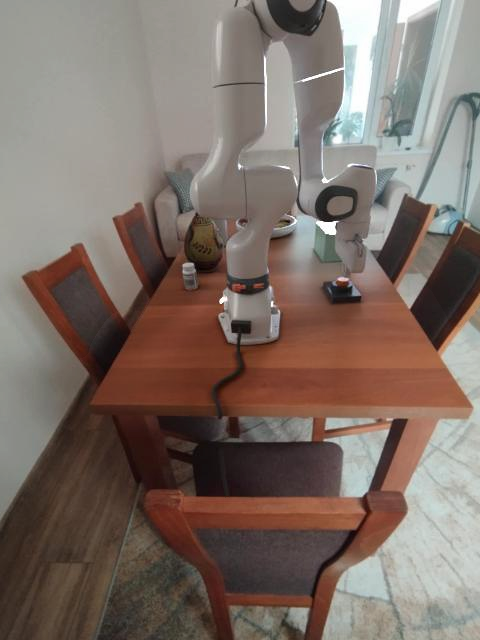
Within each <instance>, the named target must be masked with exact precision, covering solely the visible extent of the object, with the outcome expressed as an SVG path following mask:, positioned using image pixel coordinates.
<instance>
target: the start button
mask: <svg viewBox="0 0 480 640" xmlns="http://www.w3.org/2000/svg"><path fill="white" fill-rule="evenodd" d="M336 279H337V285H339V286H347V285H348V282H349V280H350V278H345V277H344V276H339V277H337V278H336Z"/></svg>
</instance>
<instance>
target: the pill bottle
mask: <svg viewBox="0 0 480 640" xmlns="http://www.w3.org/2000/svg"><path fill="white" fill-rule="evenodd" d="M182 277H183V282H184V288H185V289H186V290H187V291H194V290H196V289H198V288H199V281H198V275H197V272H196V270H195V269H194V264H193V263H190V262H184V263H183V264H182Z"/></svg>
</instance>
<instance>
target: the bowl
mask: <svg viewBox="0 0 480 640" xmlns="http://www.w3.org/2000/svg"><path fill="white" fill-rule="evenodd" d="M247 220H248V219H246V218H240V219H236V222H235V227H236V230H237V232H239V230H241V229H243V228H244V227H245V226H246V225H247ZM296 226H297V219H296V218H295V217H294V216H291V215H289V214H285V215H284V216H283V217H282V218H281V220H280V221H279V222H278V223H277V225H276V226H275V228H274V230H273V232H272V234H271V237H270V239H277V238H282V237H285V236H287V235H290V234H291V233H292V232H293V231H294V230H295V229H296Z"/></svg>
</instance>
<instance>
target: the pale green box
mask: <svg viewBox="0 0 480 640" xmlns="http://www.w3.org/2000/svg"><path fill="white" fill-rule="evenodd" d="M336 222H338V221H336ZM336 222H332V223H324V222H321V221H316V222H315V229H314V230H315V231H314V232H315V233H314V243H313V250H314V251H315V254H317V256H318V257H319V258H320V260H321V262H322V263H328V262H329V263H331V262H332V263H333V262H342V260H341V258H340V257H339V256H338V254H337V253H336V251H335V234H336V230H335V223H336Z"/></svg>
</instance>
